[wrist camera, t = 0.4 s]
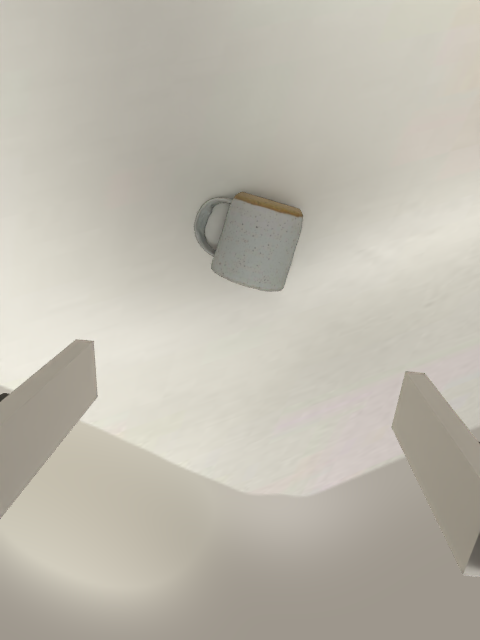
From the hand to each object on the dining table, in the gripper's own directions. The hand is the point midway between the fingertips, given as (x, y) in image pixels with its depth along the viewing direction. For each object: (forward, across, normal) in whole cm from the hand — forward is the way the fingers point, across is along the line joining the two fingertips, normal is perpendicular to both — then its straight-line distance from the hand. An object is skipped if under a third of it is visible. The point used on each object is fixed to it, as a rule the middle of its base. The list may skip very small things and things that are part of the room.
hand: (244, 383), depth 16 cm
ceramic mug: (+28, -2, +2) cm, 28 cm away
